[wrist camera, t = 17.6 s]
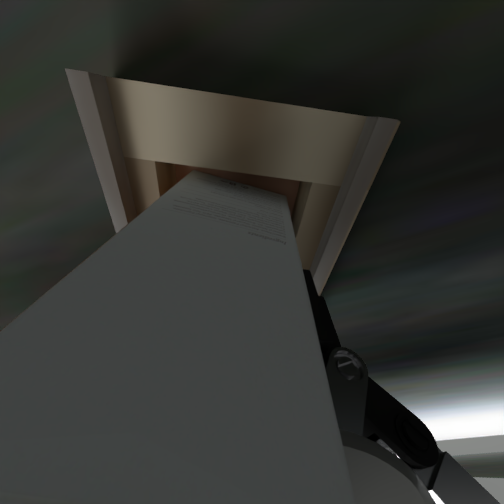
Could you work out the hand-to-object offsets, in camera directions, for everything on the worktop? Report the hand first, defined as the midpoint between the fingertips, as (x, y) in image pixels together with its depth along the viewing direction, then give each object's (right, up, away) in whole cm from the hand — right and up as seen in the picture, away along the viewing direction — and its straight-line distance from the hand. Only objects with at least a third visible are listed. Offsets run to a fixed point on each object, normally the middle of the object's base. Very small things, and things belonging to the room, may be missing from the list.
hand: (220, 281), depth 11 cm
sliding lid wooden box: (0, 0, +7) cm, 7 cm away
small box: (0, +3, +5) cm, 5 cm away
